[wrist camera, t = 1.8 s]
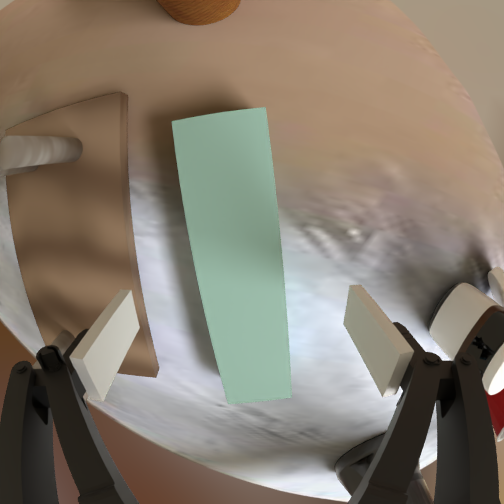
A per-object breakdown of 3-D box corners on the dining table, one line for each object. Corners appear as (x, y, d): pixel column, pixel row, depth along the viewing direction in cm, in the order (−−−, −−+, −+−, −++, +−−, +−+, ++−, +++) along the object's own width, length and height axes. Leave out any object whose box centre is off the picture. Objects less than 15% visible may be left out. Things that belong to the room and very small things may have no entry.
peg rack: (159, 368, 26) (135, 438, 17) (57, 353, 26) (21, 403, 17) (128, 95, 18) (62, 64, 9) (14, 130, 18) (-52, 132, 9)
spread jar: (411, 327, 26) (468, 397, 15) (463, 237, 23) (542, 279, 12) (460, 348, 28) (506, 400, 17) (502, 276, 25) (560, 315, 13)
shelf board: (286, 370, 27) (291, 397, 23) (229, 376, 27) (228, 404, 23) (261, 117, 19) (265, 107, 16) (184, 128, 20) (171, 121, 16)
